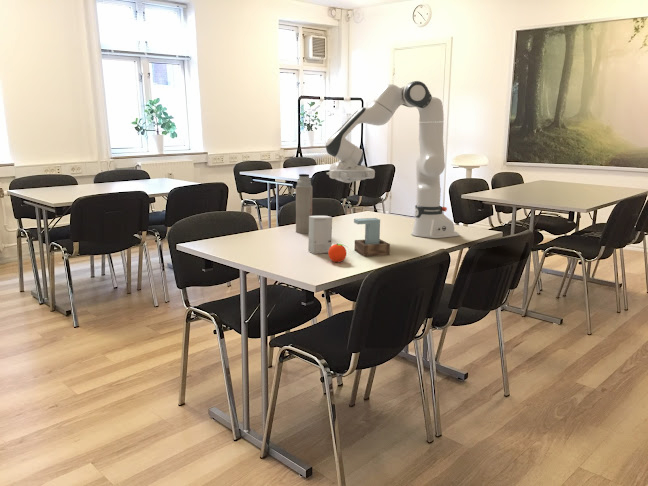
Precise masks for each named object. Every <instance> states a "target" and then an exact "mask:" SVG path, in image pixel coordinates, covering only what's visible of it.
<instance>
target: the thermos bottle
mask: <svg viewBox="0 0 648 486" xmlns="http://www.w3.org/2000/svg"><path fill="white" fill-rule="evenodd" d="M298 176H299V177H298V180H297V182H296V185H295V233H298V234H309V216H313V185H312V181H311V180H310V174H307V173H301V174H298Z"/></svg>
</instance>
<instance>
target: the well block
mask: <svg viewBox="0 0 648 486" xmlns="http://www.w3.org/2000/svg"><path fill="white" fill-rule="evenodd" d="M390 250H391V244H390V243H388V242H387V241H385V240H383V239H381V238H380V241H379V244H369V245H366V244H365V239H355V240H354V252H356V253H358V255H360V256H362V257H365V258H366V257H380V256H381V257H382V256H390V254H391V253H390V252H391V251H390Z"/></svg>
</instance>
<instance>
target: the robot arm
mask: <svg viewBox="0 0 648 486" xmlns="http://www.w3.org/2000/svg"><path fill="white" fill-rule="evenodd" d="M400 106H404V107H407V108H416V109H417V110H418V114H419V118H418V119H419V120H418V121H419V123H418V143H419V144H418V145H419V156H418V157H417V159H416V162H415V163H416V164H415V167H416V168H415V170H416V171H415V174H416V176H415V177H416V204H415V205H414V223H413V227H412V231H411V235H412V236H414V237H415V236H416V237H419V238H420V237H421V238H422V237H423V238H431V239H442V238H449V237H450V238H451V237H459V236H460V233H459V232H458V231H455V225H454V222H453V220H451V219H450V218H449V217H448V216H446V215H445V214H444V212H447V211H448V207H446V206H441V190H442V189H441V181H440V180H441V178H440V175H441V174H443V172H444V170H445V167H446V165H445V164H446V163H445V147H444V124H445V123H444V122H445V121H444V120H445V118H444V116H445V115H444V109H443V108H444V105H443V101H442V100H441V98H438V97H435V96H433V95H432V94H431V92H430V90H429V88H428V86H427V85H426V84H425V83H424V82H422V81H420V80H415V81H411V82H409V83H407V84H406V85H404V86H402V87H399V86H397V85H395V84H391V83H389V84H387V85H385V86H384V87H383V88H382V89H381V91H380V92H379V93H378V94H377V96H375V98H374V99H373V101H372V102H371V103H370V104H369V105H367V106H366V107H363V106H362V107H360V108H359V109H357V111H355V112H354V113H353V114H352V115H351V116H350V117H349V118H348V119H347V120H346V121H345V123H344V124H343V125H341V127H339V129H338V130H337V131H336V132H335V133H334V134H333V135H331V136H330V137H329V139H327V141H326V143H325V149H326V152H327V154H328V155H329V156H332V157H333V158H336V159H337V160H338V161H336V162H333V163H331V165H330V167H329V171H328V172H327V171H326V175H328V176H329V178H330V179H332V180H336V181H338V182H342V183H346V184H349V183H350V184H351V183H353V182H356V181H357V182H359V181H365V180H366V179H374V178H375V176H376V175H375V173H376V171H375V169H373V168H370V167H367V166H366V165H363V164H362V163H363V161H364V151H363V150H362V149H361V148H359V147H358V146H357V145H356V144H354V143H352V142H351V141H349V140H348V139H347V138H346V137H347V136H349V134H350V133H351V132H352V131H353V130H354V129H355V128H356V127H357V126H358V125H359V124H368V125H372V126H384V125H386V124H387V123H388V122H389V121H390V120H391V119H392V117H393V116H394V114H395V112H396V111H397V110H398V109H399V107H400Z"/></svg>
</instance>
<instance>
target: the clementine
mask: <svg viewBox="0 0 648 486" xmlns="http://www.w3.org/2000/svg"><path fill="white" fill-rule="evenodd" d="M346 248H347V249H349V248H348V246H347V245H344V244H342V243H335V244H332V245H331V247H330V249H329V252H328V258H329V259H330V261H332V262H334V263H340V262H343V261H344V260H345V259H346V258H347V250H346Z"/></svg>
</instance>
